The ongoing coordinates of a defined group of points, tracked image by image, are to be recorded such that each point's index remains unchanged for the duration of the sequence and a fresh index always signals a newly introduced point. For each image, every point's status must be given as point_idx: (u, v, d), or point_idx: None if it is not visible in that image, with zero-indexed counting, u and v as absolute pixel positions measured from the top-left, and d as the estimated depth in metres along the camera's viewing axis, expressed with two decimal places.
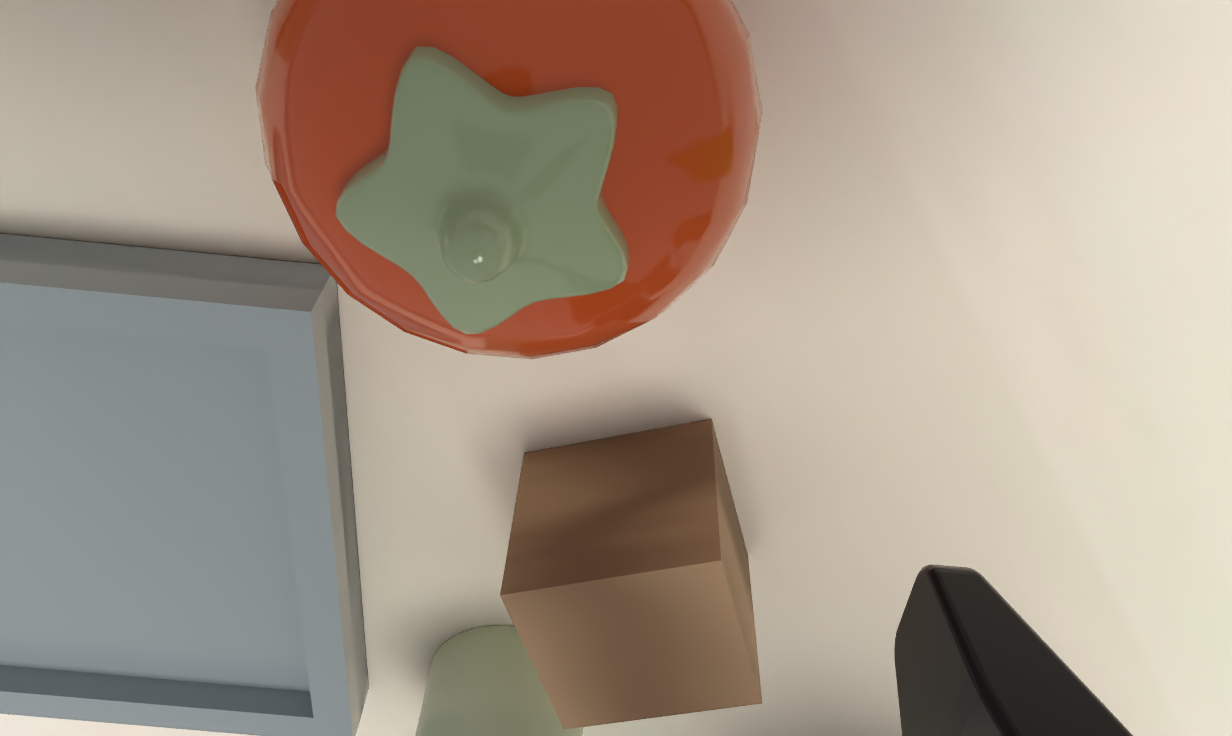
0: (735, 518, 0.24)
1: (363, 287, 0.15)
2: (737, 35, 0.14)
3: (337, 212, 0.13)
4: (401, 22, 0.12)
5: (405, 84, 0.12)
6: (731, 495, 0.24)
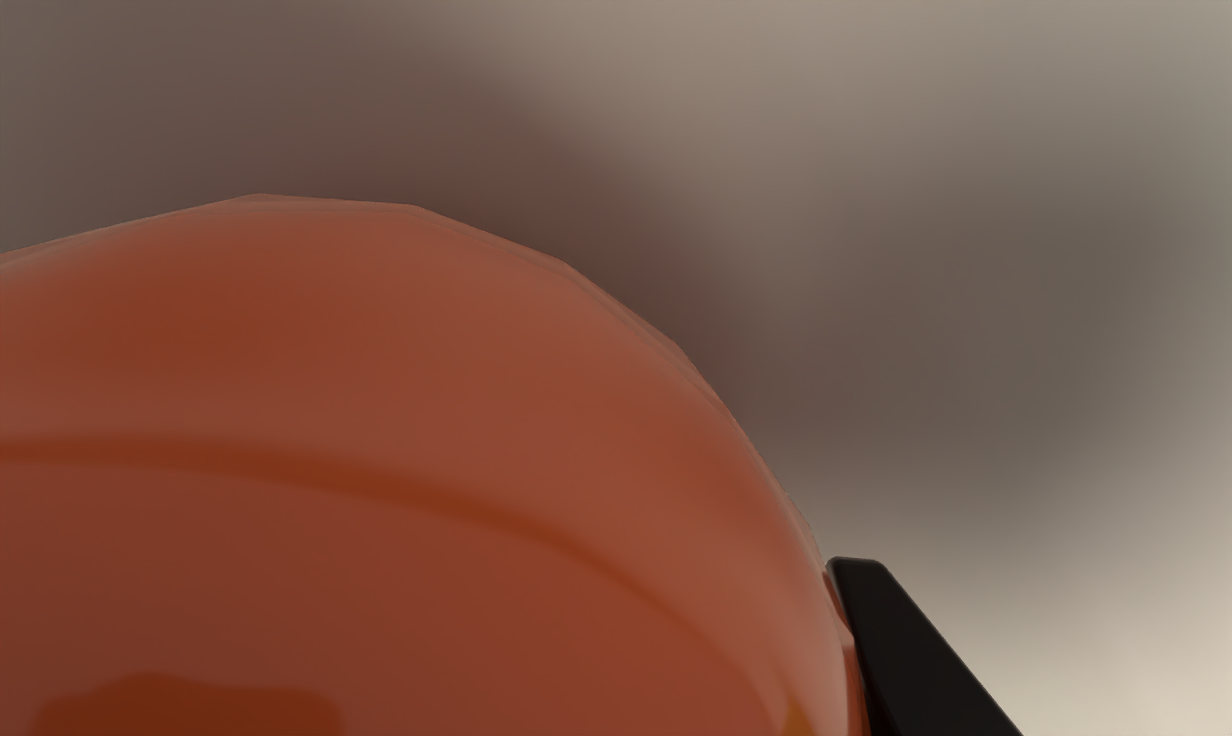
0: None
1: None
2: (834, 709, 0.05)
3: None
4: None
5: None
6: None
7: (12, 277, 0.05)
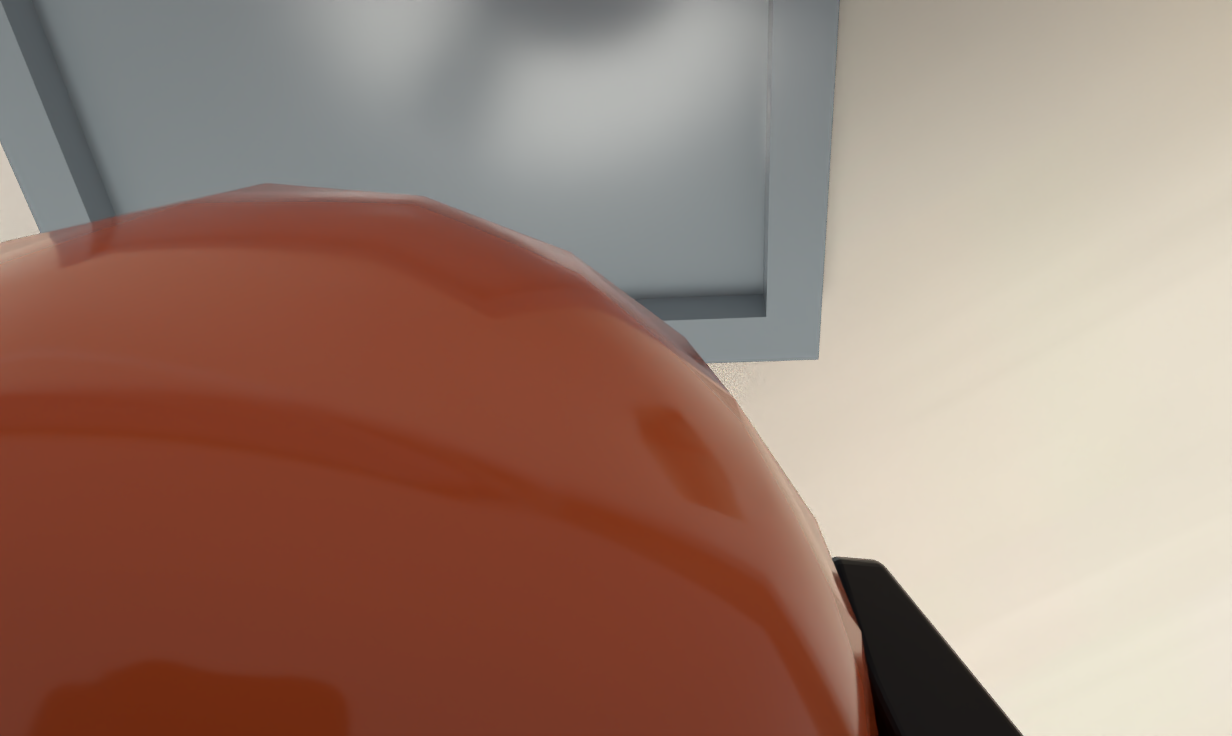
0: None
1: None
2: (842, 702, 0.05)
3: None
4: None
5: None
6: None
7: (22, 265, 0.05)
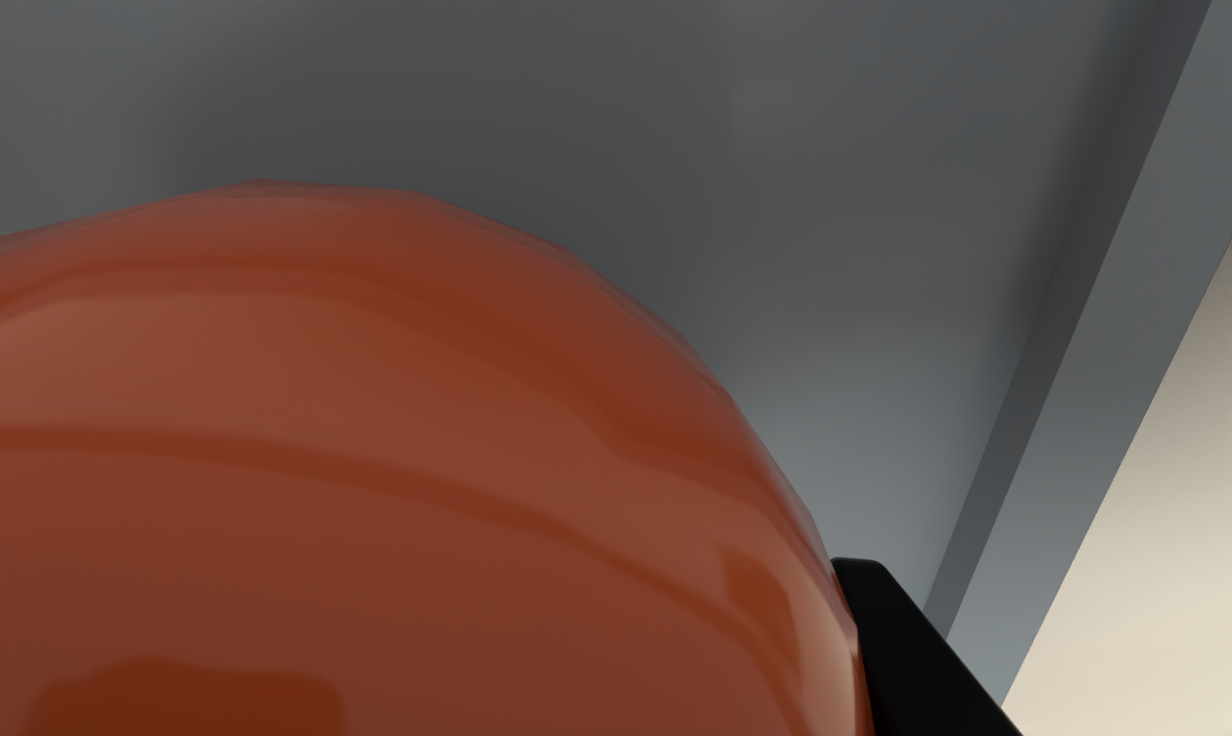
0: None
1: None
2: (837, 697, 0.05)
3: None
4: None
5: None
6: None
7: (12, 258, 0.05)
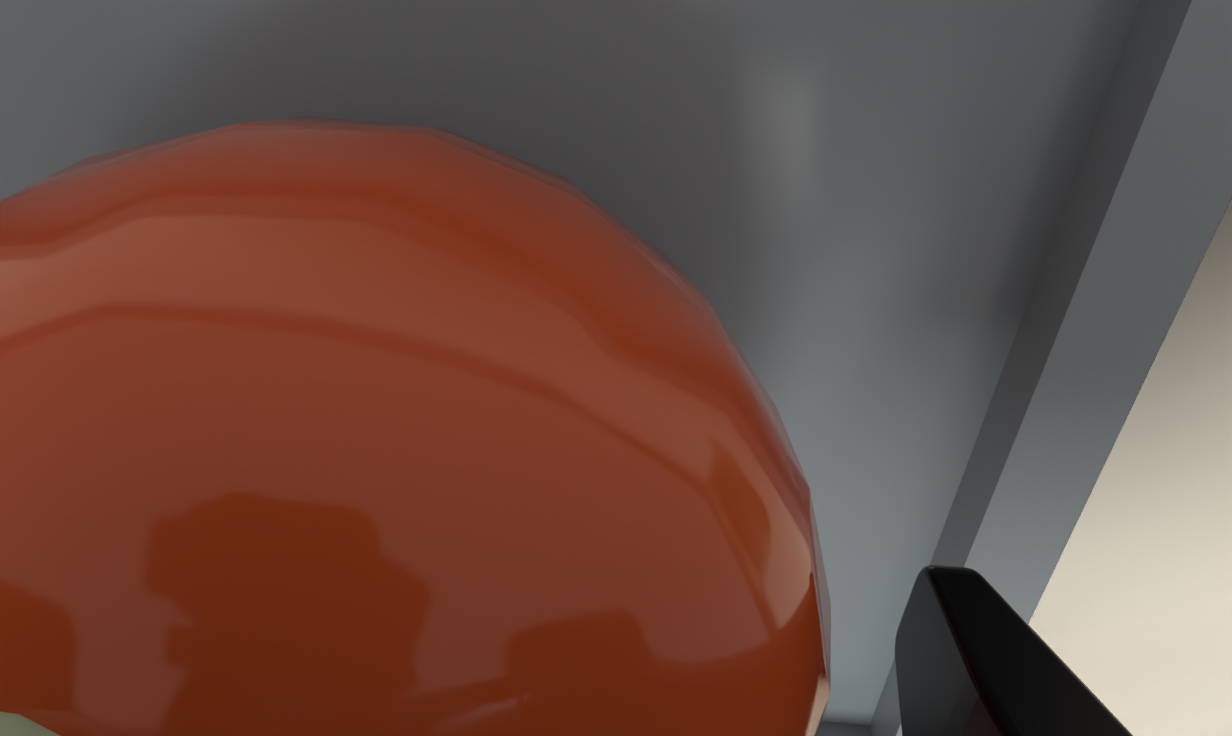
0: None
1: None
2: (789, 533, 0.06)
3: None
4: None
5: None
6: None
7: (112, 167, 0.06)
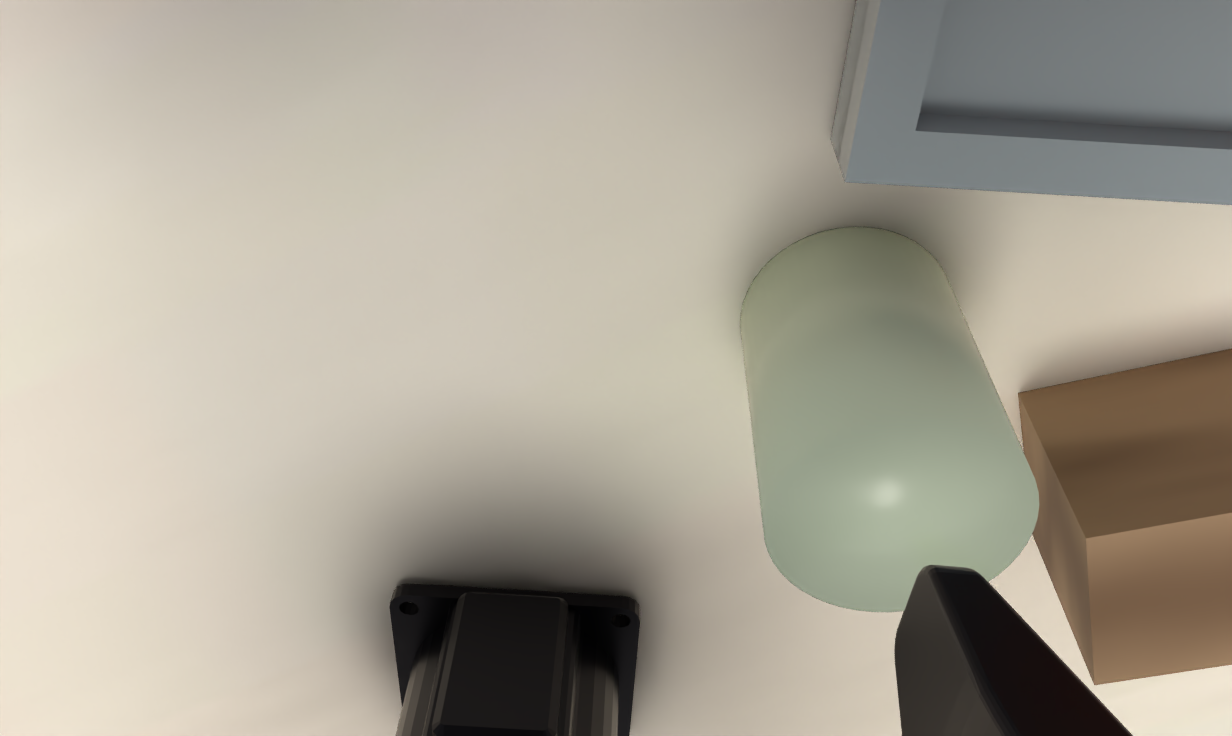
0: None
1: None
2: None
3: None
4: None
5: None
6: None
7: None
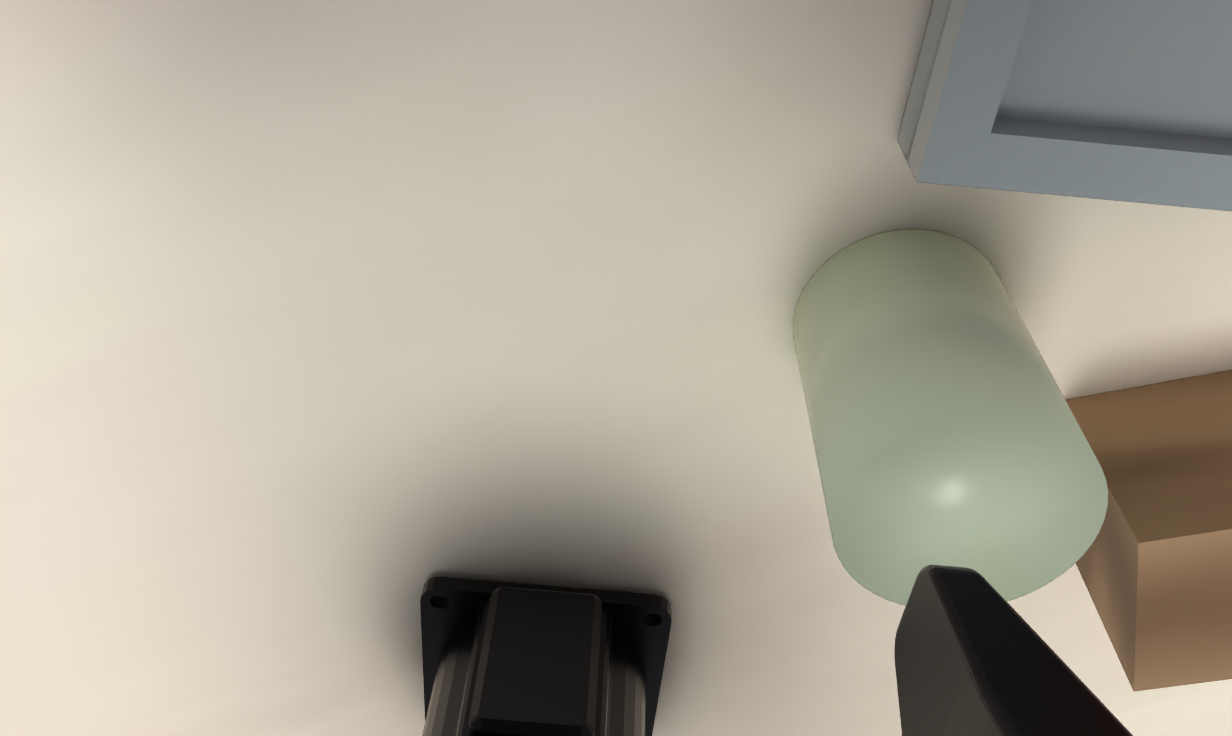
0: None
1: None
2: None
3: None
4: None
5: None
6: None
7: None
